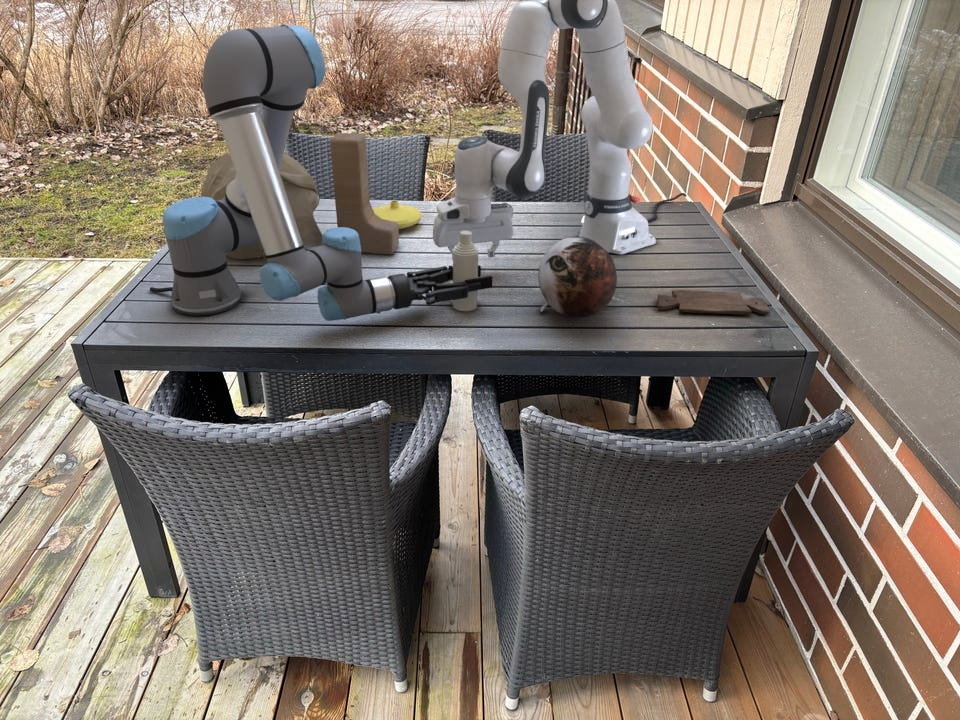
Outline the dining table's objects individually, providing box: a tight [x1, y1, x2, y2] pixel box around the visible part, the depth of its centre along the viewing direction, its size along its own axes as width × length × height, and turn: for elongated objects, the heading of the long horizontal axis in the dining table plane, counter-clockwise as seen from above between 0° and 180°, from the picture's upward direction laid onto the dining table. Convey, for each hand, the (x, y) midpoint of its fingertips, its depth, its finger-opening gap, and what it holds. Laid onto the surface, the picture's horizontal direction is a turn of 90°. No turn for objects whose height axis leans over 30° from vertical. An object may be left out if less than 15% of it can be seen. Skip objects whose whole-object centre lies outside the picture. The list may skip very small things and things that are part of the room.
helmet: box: [200, 133, 323, 260], centre depth 189 cm, size 27×30×30 cm
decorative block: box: [329, 132, 400, 255], centre depth 188 cm, size 8×15×30 cm, turn 82°
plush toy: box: [537, 236, 618, 319], centre depth 161 cm, size 22×18×20 cm
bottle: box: [452, 231, 479, 312], centre depth 162 cm, size 6×6×18 cm
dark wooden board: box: [656, 289, 771, 316], centre depth 168 cm, size 26×2×10 cm
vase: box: [372, 199, 423, 230], centre depth 210 cm, size 16×16×7 cm
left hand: (485, 276), depth 165 cm, fingers closed on bottle, 6 cm apart
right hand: (473, 258), depth 182 cm, fingers open, 8 cm apart
